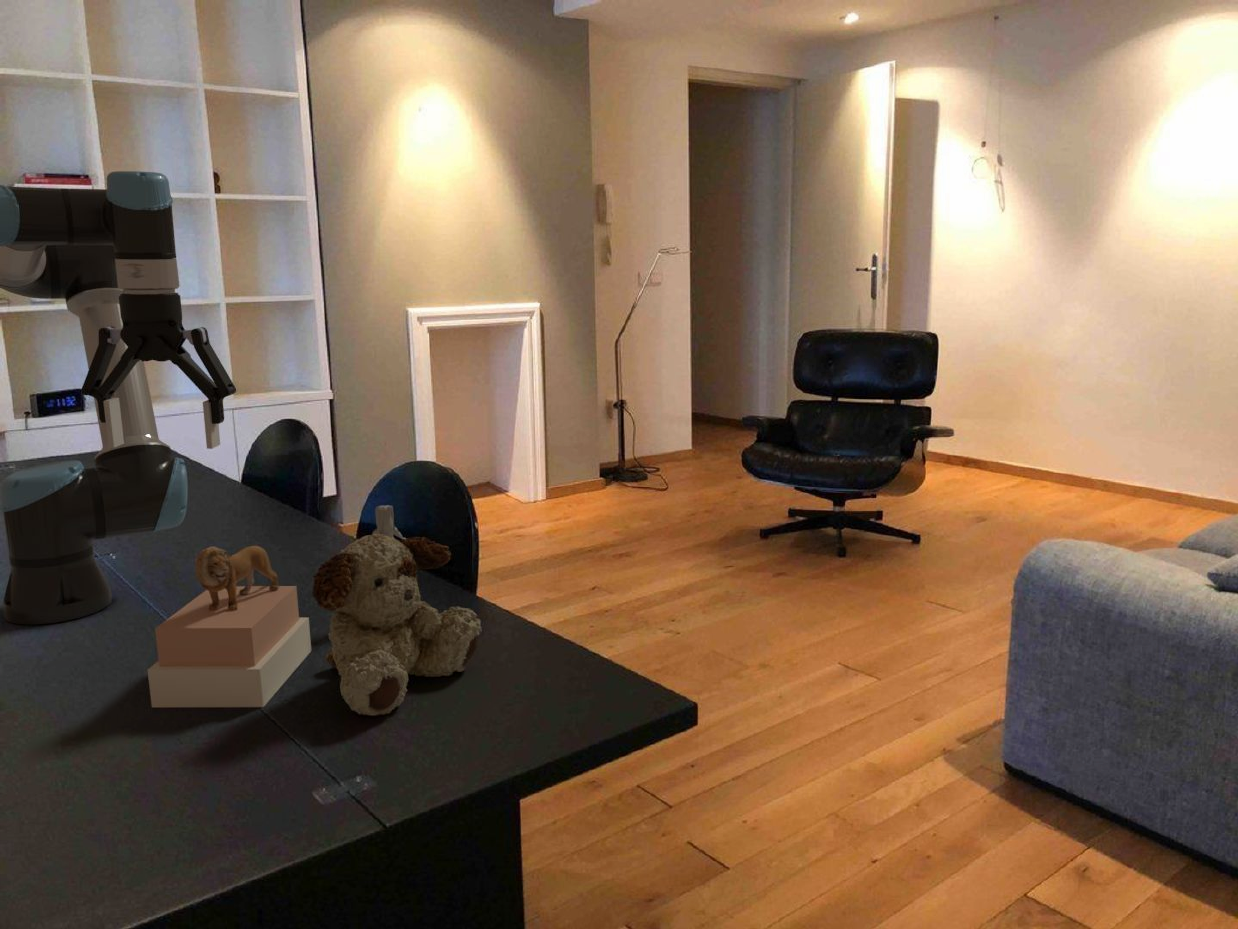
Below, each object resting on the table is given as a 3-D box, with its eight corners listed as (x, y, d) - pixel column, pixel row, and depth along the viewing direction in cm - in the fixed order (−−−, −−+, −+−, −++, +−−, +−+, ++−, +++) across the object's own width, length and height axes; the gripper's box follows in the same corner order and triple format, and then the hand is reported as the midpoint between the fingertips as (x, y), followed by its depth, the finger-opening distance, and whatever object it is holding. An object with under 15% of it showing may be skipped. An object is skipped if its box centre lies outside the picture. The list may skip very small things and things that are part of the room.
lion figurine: (226, 621, 122) (220, 552, 121) (188, 619, 123) (181, 550, 122) (288, 584, 136) (282, 522, 135) (253, 582, 137) (247, 520, 136)
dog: (369, 733, 114) (357, 569, 110) (264, 698, 124) (250, 547, 120) (495, 664, 133) (489, 523, 129) (396, 638, 143) (387, 506, 139)
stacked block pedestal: (151, 707, 121) (142, 631, 119) (213, 651, 139) (207, 584, 137) (263, 707, 121) (256, 631, 119) (311, 650, 139) (305, 583, 137)
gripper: (40, 292, 128) (60, 451, 132) (230, 293, 127) (243, 452, 132) (72, 289, 135) (90, 439, 140) (252, 290, 135) (264, 441, 139)
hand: (165, 446), depth 136 cm, fingers open, 13 cm apart
